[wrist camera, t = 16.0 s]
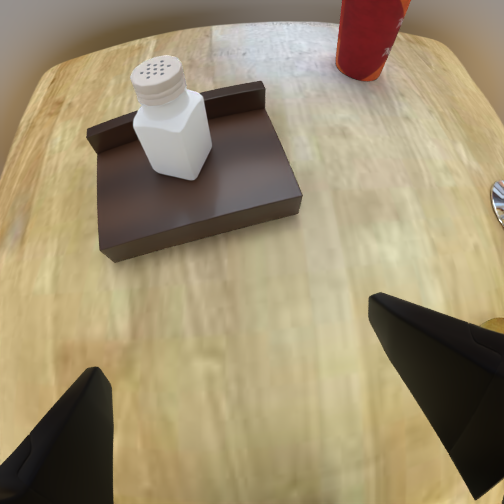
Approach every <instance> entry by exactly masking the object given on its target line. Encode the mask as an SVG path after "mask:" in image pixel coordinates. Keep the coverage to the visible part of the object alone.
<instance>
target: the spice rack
mask: <svg viewBox="0 0 504 504" xmlns="http://www.w3.org/2000/svg"><path fill="white" fill-rule="evenodd" d="M199 94H200V95H202V96H203V99H204V105H205V110H206V115H207V120H208V126H209V131H210V136H211V141H212V148H211V150H210V152H209V154H208V156H207V158H206V160H205V162H204V164H203V166H202V168H201V170H200V173H199V175H198V177H197V178H196V179H195V180H187V179H182V178H178V177H174V176H169V175H165V174H160V173H158V172H156V171H155V170H154V169H153V168H152V165H151V163H150V161H149V159H148V157H147V155H146V153H145V151H144V149H143V147H142V145H141V143H140V140H139V138H138V136H137V134H136V132H135V130H134V128H133V121H134V118H135V116H136V114H137V112H138V111H135V112H132V113H129V114H126V115H123V116H120V117H117V118H115V119H112V120H109V121H106V122H104V123H101V124H98V125H96V126H93V127H91V128H88V129H87V136H86V138H87V140H88V141H89V143H90V144H91V146H92V147H93V149H94V150H95V152H96V153H97V212H98V233H99V248H100V251H101V252H102V253H103V254H105V255H106V256H107V257H108V258H110V259H111V260H112V261H113V262H115V263H116V262H119V261H123V260H126V259H130V258H133V257H137V256H140V255H144V254H147V253H151V252H154V251H158V250H162V249H165V248H169V247H172V246H176V245H180V244H183V243H187V242H191V241H194V240H198V239H202V238H205V237H209V236H213V235H217V234H221V233H224V232H228V231H232V230H236V229H240V228H243V227H247V226H251V225H255V224H259V223H263V222H267V221H271V220H275V219H279V218H283V217H287V216H291V215H295V214H298V212H299V208H300V204H301V200H302V196H303V195H302V193H301V190H300V188H299V185H298V183H297V180H296V178H295V176H294V173H293V171H292V168H291V166H290V164H289V161H288V159H287V157H286V154H285V152H284V150H283V147H282V145H281V143H280V141H279V138H278V136H277V134H276V132H275V129H274V127H273V125H272V123H271V120H270V118H269V116H268V114H267V112H266V110H265V87H264V85H263V83H262V81H257V82H251V83H245V84H240V85H234V86H229V87H224V88H220V89H215V90H211V91H206V92H202V93H199Z"/></svg>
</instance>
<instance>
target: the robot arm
mask: <svg viewBox="0 0 504 504" xmlns="http://www.w3.org/2000/svg"><path fill="white" fill-rule="evenodd" d="M368 317H369V321H370V324H371V325H372V327H373V329H374V331H375V333H376V335H377V337H378V339H379V341H380V343H381V345H382V347H383V349H384V351H385V353H386V354H387V356H388V358H389V360H390V361H391V363H392V364H393V366H394V367H395V369H396V370H397V372H398V373H399V375H400V376H401V378H402V380H403V381H404V383H405V384H406V386H407V387H408V389H409V390H410V392H411V393H412V395H413V397H414V398H415V400H416V401H417V403H418V404H419V406H420V408H421V409H422V411H423V412H424V414H425V416H426V417H427V419H428V420H429V422H430V424H431V425H432V427H433V429H434V430H435V432H436V434H437V435H438V437H439V438H440V440H441V442H442V443H443V445H444V447H445V449H446V450H447V452H448V453H449V456H450V457H451V459H452V461H453V462H454V464H455V466H456V468H457V469H458V471H459V473H460V475H461V476H462V478H463V480H464V482H465V484H466V485H467V487H468V489H469V491H470V493H471V494H472V496H473V498H474V499H475V500H477V499H479V498H480V497H481V496H483V495H484V494H485V493H487V492H488V491H489V490H490V489H492V488H493V487H494V486H495V485H497V484H498V483H499V482H500V481H501V480H503V479H504V334H503V333H499V332H495V331H492V330H489V329H486V328H483V327H479V326H477V325H474V324H471V323H469V324H468V322H465V321H462V320H459V319H457V318H454V317H451V316H448V315H445V314H442V313H439V312H437V311H434V310H431V309H428V308H425V307H422V306H419V305H416V304H414V303H411V302H408V301H405V300H402V299H399V298H396V297H394V296H391V295H388V294H385V293H382V292H379V293H376V294H373V295H371V296H370V297H369V307H368ZM113 434H114V424H113V405H112V387H111V384H110V382H109V381H108V379H107V378H106V376H105V375H104V373H103V372H102V370H101V369H100V368H99V367H90V368H87V369H86V370H85V371H84V372H83V373H82V374H81V375H80V376H79V378H78V379H77V380H76V381H75V382H74V383H73V384H72V385H71V386H70V388H69V389H68V390H67V391H66V392H65V393H64V394H63V395H62V397H61V398H60V399H59V400H58V401H57V402H56V403H55V404H54V406H53V407H52V408H51V409H50V410H49V411H48V412H47V414H46V415H45V416H44V417H43V418H42V419H41V421H40V422H39V423H38V424H37V425H36V426H35V428H34V429H33V430H32V431H31V432H30V435H28V436H27V437H26V438H25V439H24V441H23V442H22V443H21V444H20V445H19V446H18V447H17V449H16V450H15V451H14V452H13V453H12V454H11V455H10V456H9V457H8V458H7V459H6V460H5V461H4V462H3V463H2V464H1V465H0V504H114V503H113ZM502 504H504V496H503V500H502Z"/></svg>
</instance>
